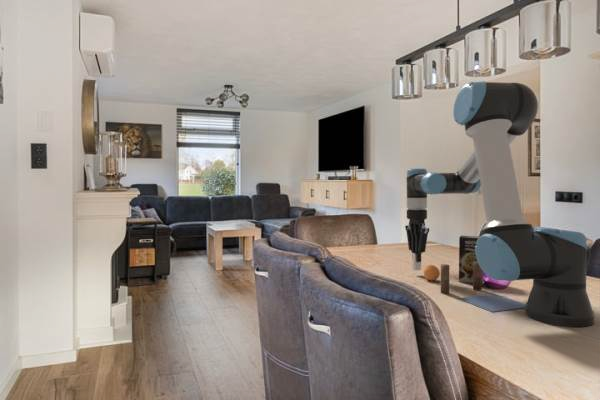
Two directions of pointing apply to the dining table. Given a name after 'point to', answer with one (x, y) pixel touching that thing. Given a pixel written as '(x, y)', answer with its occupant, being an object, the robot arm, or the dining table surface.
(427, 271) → the ball
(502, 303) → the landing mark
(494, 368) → the dining table surface
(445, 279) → the post left
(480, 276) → the post right
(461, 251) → the coffee box
